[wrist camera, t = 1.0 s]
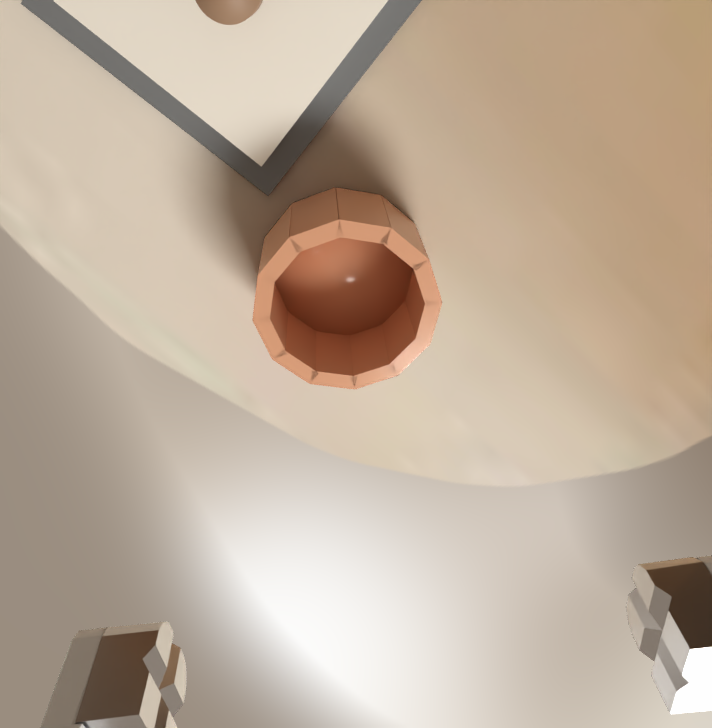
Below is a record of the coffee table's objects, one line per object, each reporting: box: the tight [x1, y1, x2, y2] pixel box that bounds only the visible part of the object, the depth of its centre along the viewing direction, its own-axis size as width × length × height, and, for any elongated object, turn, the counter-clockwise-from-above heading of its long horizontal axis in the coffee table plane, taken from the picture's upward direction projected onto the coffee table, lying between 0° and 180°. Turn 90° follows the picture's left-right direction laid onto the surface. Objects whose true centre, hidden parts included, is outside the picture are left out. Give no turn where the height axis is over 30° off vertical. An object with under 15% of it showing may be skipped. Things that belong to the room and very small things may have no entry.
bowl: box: [253, 187, 442, 389], centre depth 40 cm, size 11×11×6 cm
